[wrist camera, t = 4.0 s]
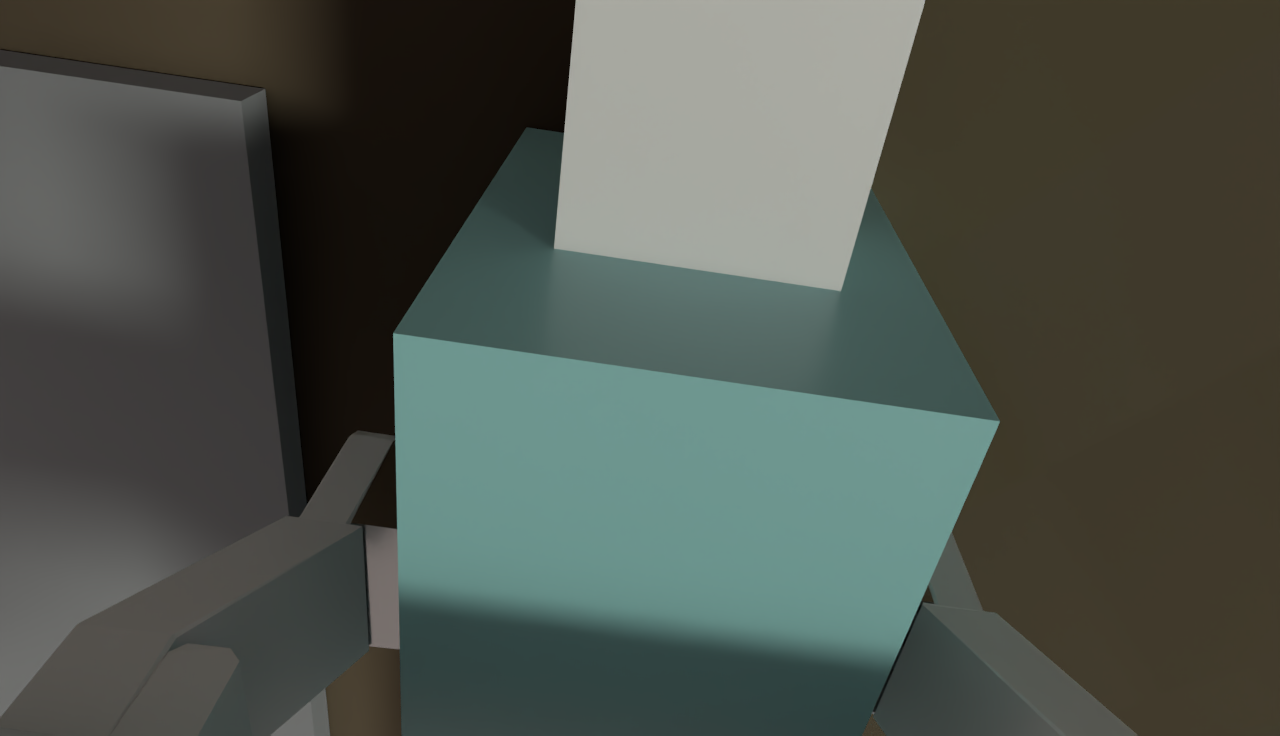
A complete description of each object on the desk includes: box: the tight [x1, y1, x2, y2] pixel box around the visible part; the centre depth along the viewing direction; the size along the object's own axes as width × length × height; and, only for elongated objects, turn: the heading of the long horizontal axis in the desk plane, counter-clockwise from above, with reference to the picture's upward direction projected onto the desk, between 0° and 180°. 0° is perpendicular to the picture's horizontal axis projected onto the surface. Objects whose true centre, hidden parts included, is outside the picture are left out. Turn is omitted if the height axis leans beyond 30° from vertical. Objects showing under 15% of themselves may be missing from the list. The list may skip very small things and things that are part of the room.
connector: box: [393, 0, 1000, 736], centre depth 10 cm, size 14×4×5 cm, turn 172°
